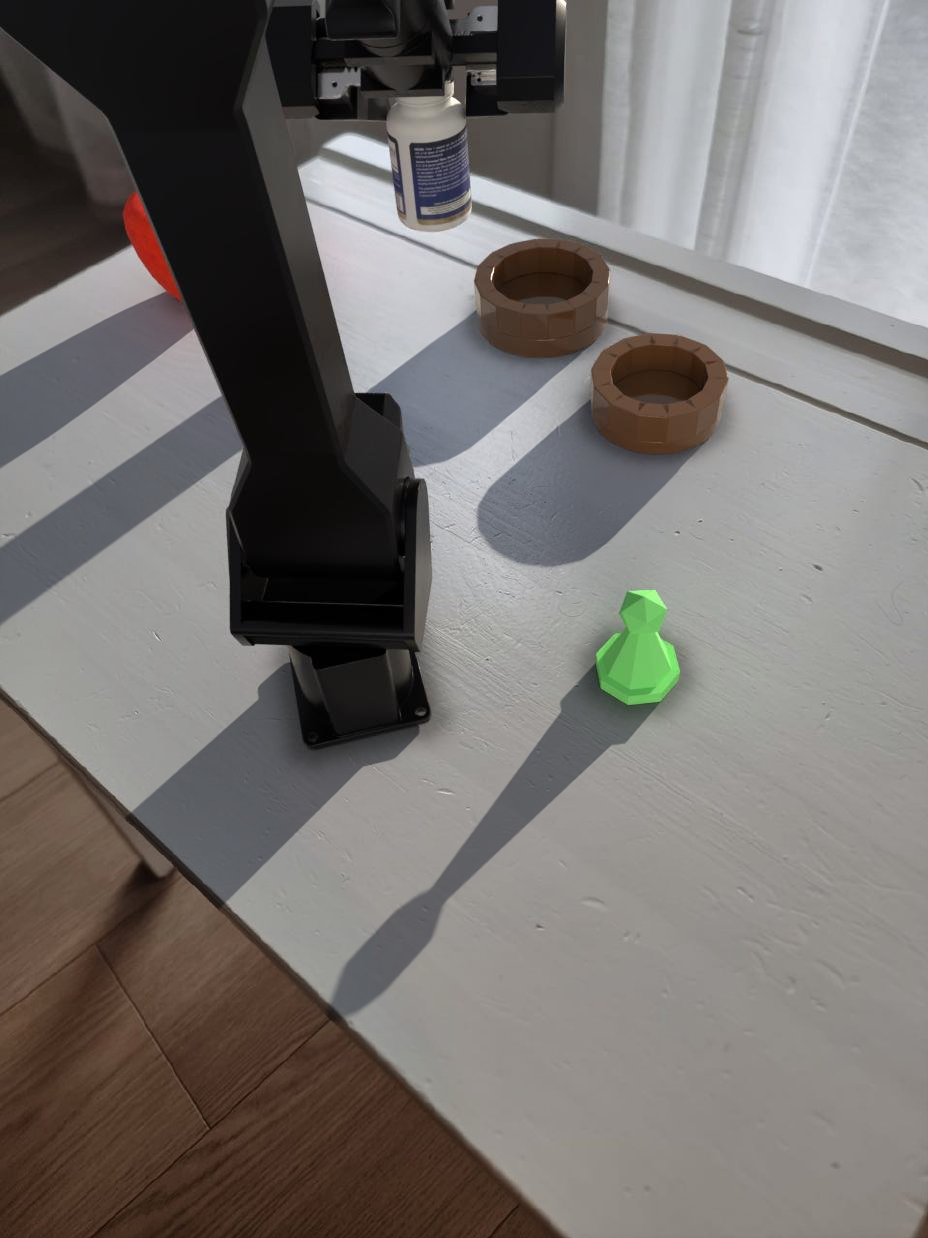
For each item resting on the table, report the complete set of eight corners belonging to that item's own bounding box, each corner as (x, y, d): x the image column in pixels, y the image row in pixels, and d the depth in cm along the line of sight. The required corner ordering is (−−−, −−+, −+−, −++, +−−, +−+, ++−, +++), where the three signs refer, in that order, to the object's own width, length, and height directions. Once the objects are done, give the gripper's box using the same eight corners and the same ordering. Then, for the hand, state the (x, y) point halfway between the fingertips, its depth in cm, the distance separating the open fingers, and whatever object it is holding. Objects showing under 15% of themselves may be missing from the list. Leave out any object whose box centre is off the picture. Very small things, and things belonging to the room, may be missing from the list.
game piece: (696, 684, 50) (710, 609, 46) (623, 719, 49) (631, 646, 45) (648, 626, 53) (658, 549, 48) (578, 658, 52) (581, 583, 47)
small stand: (742, 438, 62) (750, 400, 59) (613, 466, 61) (615, 428, 58) (693, 361, 67) (698, 322, 64) (573, 386, 66) (573, 348, 64)
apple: (287, 267, 77) (265, 169, 71) (227, 332, 72) (198, 232, 66) (191, 249, 80) (162, 152, 74) (127, 310, 75) (90, 212, 69)
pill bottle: (486, 206, 72) (479, 62, 65) (445, 241, 69) (433, 95, 62) (425, 189, 74) (411, 48, 67) (383, 223, 71) (363, 80, 64)
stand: (625, 343, 68) (628, 298, 66) (496, 369, 68) (493, 325, 65) (584, 272, 74) (585, 228, 71) (464, 295, 73) (461, 252, 71)
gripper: (568, -185, 50) (571, -19, 66) (212, -165, 52) (295, -8, 68) (561, 46, 51) (565, 157, 67) (213, 57, 54) (295, 162, 69)
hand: (429, 112), depth 68 cm, fingers closed on pill bottle, 5 cm apart
